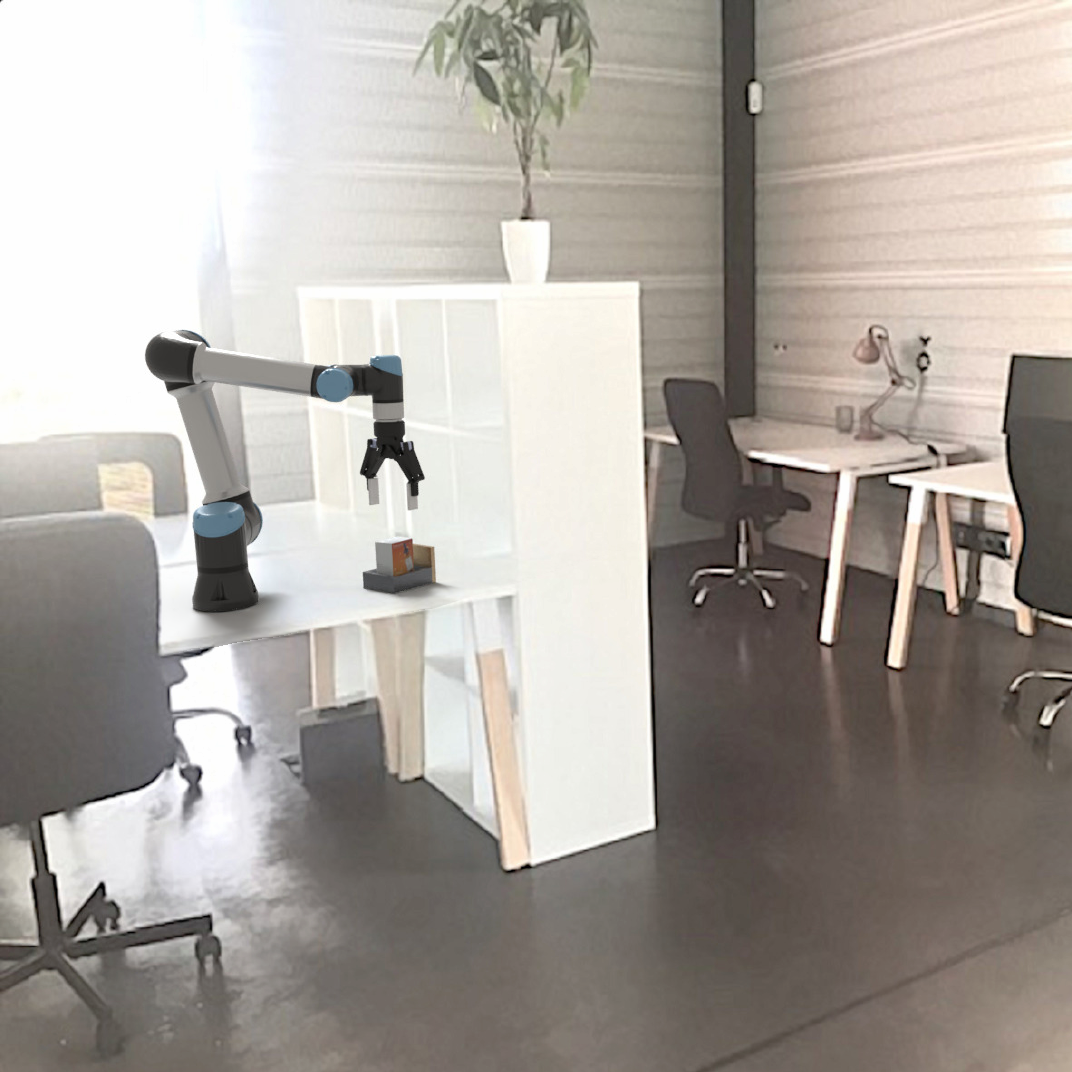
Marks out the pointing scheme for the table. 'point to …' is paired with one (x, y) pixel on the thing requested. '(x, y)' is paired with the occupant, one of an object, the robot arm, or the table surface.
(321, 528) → the table surface
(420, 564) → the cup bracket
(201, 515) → the robot arm
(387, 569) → the small box
